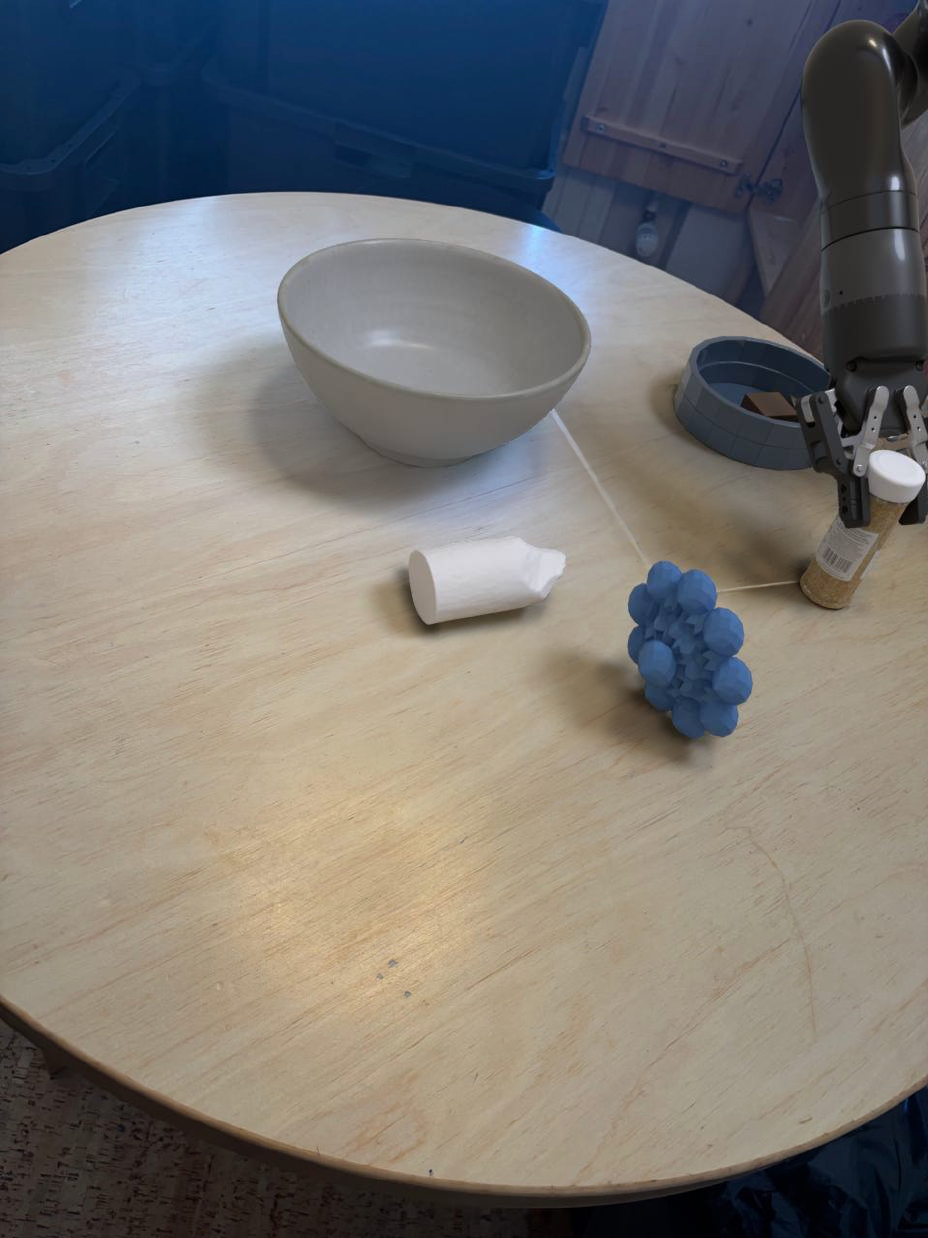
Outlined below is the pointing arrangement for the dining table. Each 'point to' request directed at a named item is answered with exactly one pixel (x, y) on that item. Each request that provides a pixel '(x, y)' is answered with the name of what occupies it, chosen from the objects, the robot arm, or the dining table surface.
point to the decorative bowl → (430, 345)
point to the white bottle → (481, 577)
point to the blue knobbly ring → (688, 650)
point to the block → (769, 406)
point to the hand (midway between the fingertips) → (885, 524)
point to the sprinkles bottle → (862, 531)
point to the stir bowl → (720, 387)
